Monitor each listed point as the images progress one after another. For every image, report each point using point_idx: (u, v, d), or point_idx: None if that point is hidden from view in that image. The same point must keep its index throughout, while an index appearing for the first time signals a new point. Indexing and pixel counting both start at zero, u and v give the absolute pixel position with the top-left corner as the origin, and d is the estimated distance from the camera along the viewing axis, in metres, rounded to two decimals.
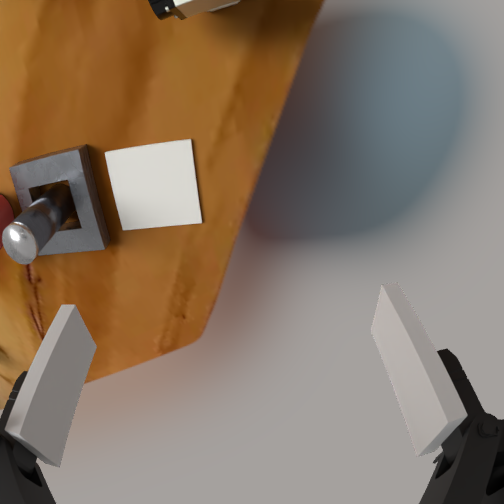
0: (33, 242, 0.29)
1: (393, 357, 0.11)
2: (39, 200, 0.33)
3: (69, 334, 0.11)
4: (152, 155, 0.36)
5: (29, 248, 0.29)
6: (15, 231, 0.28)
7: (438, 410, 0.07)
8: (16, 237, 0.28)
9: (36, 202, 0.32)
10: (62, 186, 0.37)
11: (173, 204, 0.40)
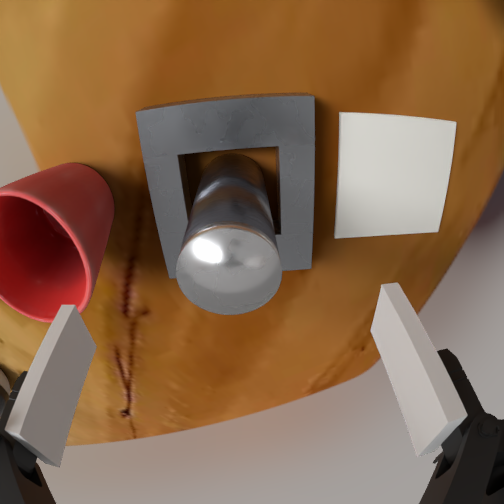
0: (281, 270, 0.15)
1: (393, 357, 0.11)
2: (230, 177, 0.19)
3: (69, 334, 0.11)
4: (410, 132, 0.23)
5: (264, 283, 0.15)
6: (234, 244, 0.14)
7: (438, 410, 0.07)
8: (231, 258, 0.15)
9: (229, 181, 0.19)
10: (245, 158, 0.23)
11: (416, 205, 0.26)
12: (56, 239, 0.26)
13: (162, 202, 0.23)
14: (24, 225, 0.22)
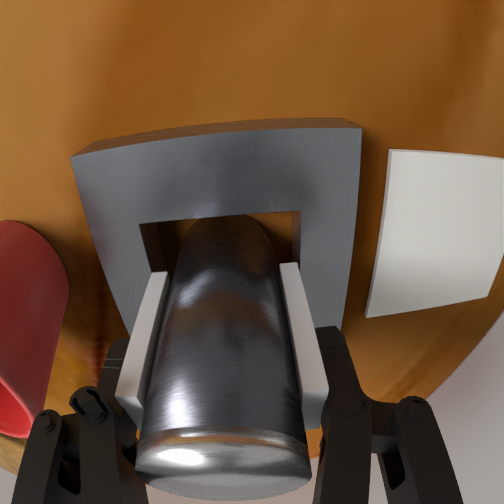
0: (311, 473, 0.07)
1: None
2: (222, 278, 0.11)
3: (165, 299, 0.13)
4: (477, 178, 0.15)
5: (281, 485, 0.08)
6: (231, 466, 0.06)
7: (300, 380, 0.09)
8: (226, 474, 0.07)
9: (220, 290, 0.11)
10: (246, 222, 0.16)
11: (469, 270, 0.18)
12: None
13: (124, 288, 0.15)
14: None
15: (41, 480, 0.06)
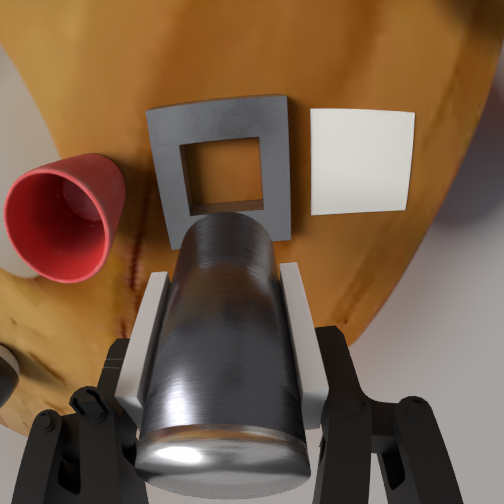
0: (309, 471, 0.07)
1: None
2: (221, 277, 0.12)
3: (165, 299, 0.13)
4: (372, 123, 0.28)
5: (281, 483, 0.08)
6: (231, 464, 0.06)
7: (300, 380, 0.09)
8: (225, 472, 0.07)
9: (220, 289, 0.11)
10: (246, 221, 0.16)
11: (382, 185, 0.31)
12: (75, 219, 0.31)
13: (166, 183, 0.28)
14: (47, 206, 0.27)
15: (41, 480, 0.06)
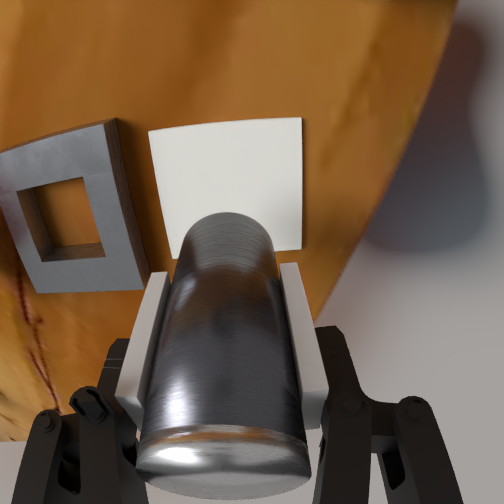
0: (310, 472, 0.07)
1: None
2: (222, 278, 0.12)
3: (165, 299, 0.13)
4: (234, 139, 0.22)
5: (281, 484, 0.08)
6: (232, 464, 0.06)
7: (300, 380, 0.09)
8: (226, 473, 0.07)
9: (220, 290, 0.11)
10: (246, 222, 0.16)
11: (261, 220, 0.26)
12: None
13: (15, 230, 0.22)
14: None
15: (41, 480, 0.06)
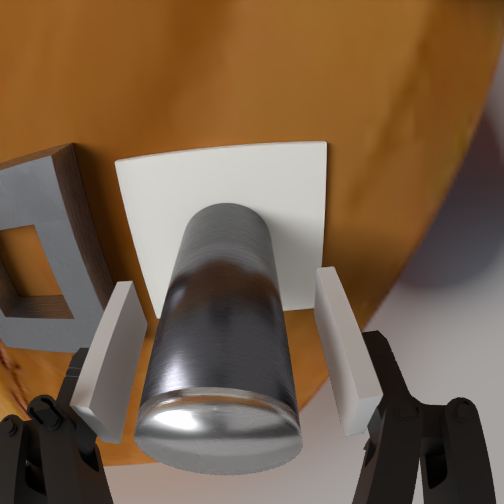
0: None
1: (326, 337, 0.12)
2: (220, 260, 0.12)
3: (128, 309, 0.13)
4: (232, 172, 0.16)
5: (274, 455, 0.08)
6: (225, 427, 0.07)
7: (353, 387, 0.09)
8: (220, 438, 0.08)
9: (218, 270, 0.12)
10: (244, 212, 0.17)
11: None
12: None
13: None
14: None
15: (10, 481, 0.05)
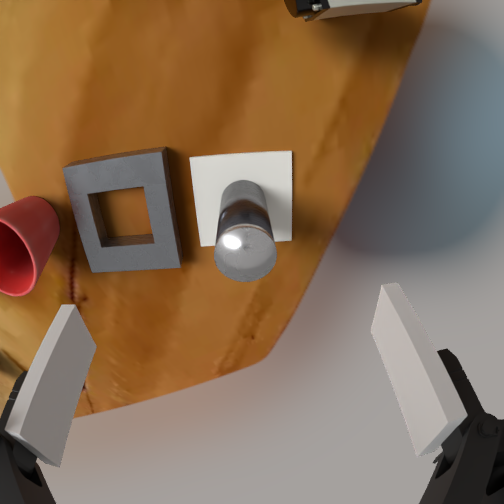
0: (276, 253, 0.26)
1: (393, 357, 0.11)
2: (244, 197, 0.30)
3: (69, 334, 0.11)
4: (247, 165, 0.34)
5: (266, 261, 0.26)
6: (249, 237, 0.25)
7: (438, 410, 0.07)
8: (247, 245, 0.25)
9: (244, 200, 0.30)
10: (252, 183, 0.35)
11: None
12: (25, 245, 0.36)
13: (82, 223, 0.34)
14: (4, 236, 0.33)
15: None
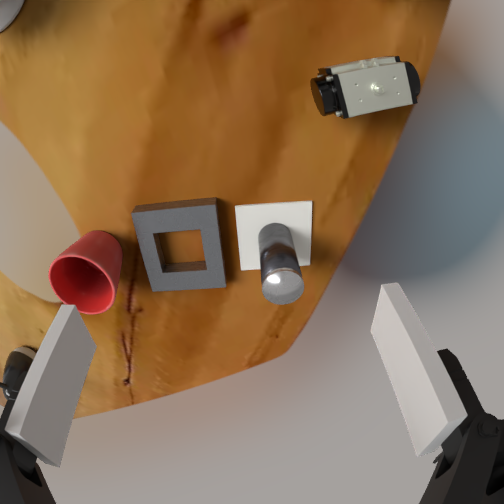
0: (303, 285, 0.38)
1: (393, 357, 0.11)
2: (279, 242, 0.42)
3: (69, 334, 0.11)
4: (278, 212, 0.46)
5: (297, 291, 0.38)
6: (286, 277, 0.37)
7: (438, 410, 0.07)
8: (285, 282, 0.38)
9: (279, 244, 0.42)
10: (282, 226, 0.46)
11: None
12: (90, 269, 0.49)
13: (147, 254, 0.47)
14: (73, 263, 0.46)
15: None
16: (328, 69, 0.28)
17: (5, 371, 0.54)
